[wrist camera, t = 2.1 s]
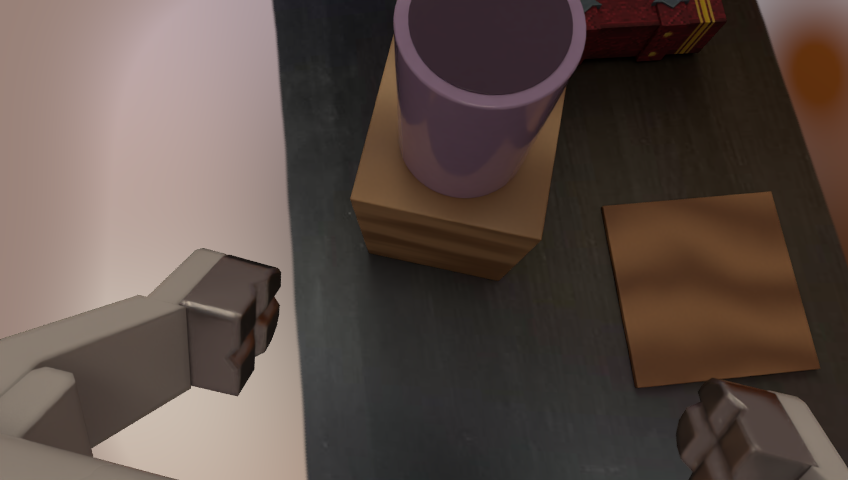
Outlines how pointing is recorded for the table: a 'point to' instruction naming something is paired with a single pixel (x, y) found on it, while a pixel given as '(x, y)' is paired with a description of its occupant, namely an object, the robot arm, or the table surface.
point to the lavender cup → (479, 85)
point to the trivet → (707, 289)
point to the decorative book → (649, 27)
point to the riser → (448, 201)
